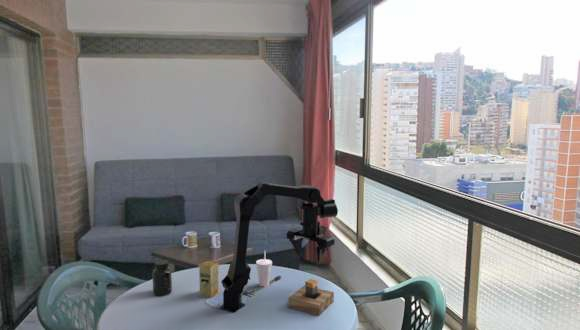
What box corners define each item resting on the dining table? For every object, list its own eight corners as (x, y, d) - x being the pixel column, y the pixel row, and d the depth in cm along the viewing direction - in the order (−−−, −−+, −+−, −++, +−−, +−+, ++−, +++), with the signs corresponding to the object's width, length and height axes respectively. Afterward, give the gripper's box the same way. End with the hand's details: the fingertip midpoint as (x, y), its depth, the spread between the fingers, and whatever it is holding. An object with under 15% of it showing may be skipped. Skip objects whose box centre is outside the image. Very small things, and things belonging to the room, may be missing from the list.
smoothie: (275, 284, 164) (275, 250, 162) (266, 290, 159) (265, 255, 157) (262, 280, 168) (262, 247, 166) (252, 286, 162) (252, 251, 160)
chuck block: (319, 315, 139) (319, 305, 139) (288, 306, 145) (288, 297, 145) (333, 301, 149) (333, 292, 149) (304, 294, 155) (304, 285, 155)
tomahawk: (254, 301, 151) (254, 298, 151) (241, 295, 155) (241, 292, 155) (290, 282, 168) (290, 280, 167) (277, 277, 172) (278, 274, 171)
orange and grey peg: (317, 303, 148) (317, 281, 146) (312, 307, 145) (312, 283, 144) (310, 301, 150) (310, 278, 148) (305, 304, 147) (305, 281, 146)
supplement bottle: (149, 294, 154) (147, 264, 153) (161, 287, 160) (160, 258, 159) (164, 298, 152) (163, 266, 150) (175, 290, 158) (174, 260, 156)
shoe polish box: (207, 290, 158) (207, 260, 157) (218, 292, 156) (218, 262, 155) (199, 295, 154) (199, 264, 152) (210, 297, 152) (210, 266, 150)
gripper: (343, 219, 153) (342, 259, 155) (303, 211, 165) (303, 249, 167) (326, 225, 145) (325, 268, 147) (285, 216, 157) (285, 256, 159)
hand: (309, 259), depth 155 cm, fingers open, 9 cm apart
